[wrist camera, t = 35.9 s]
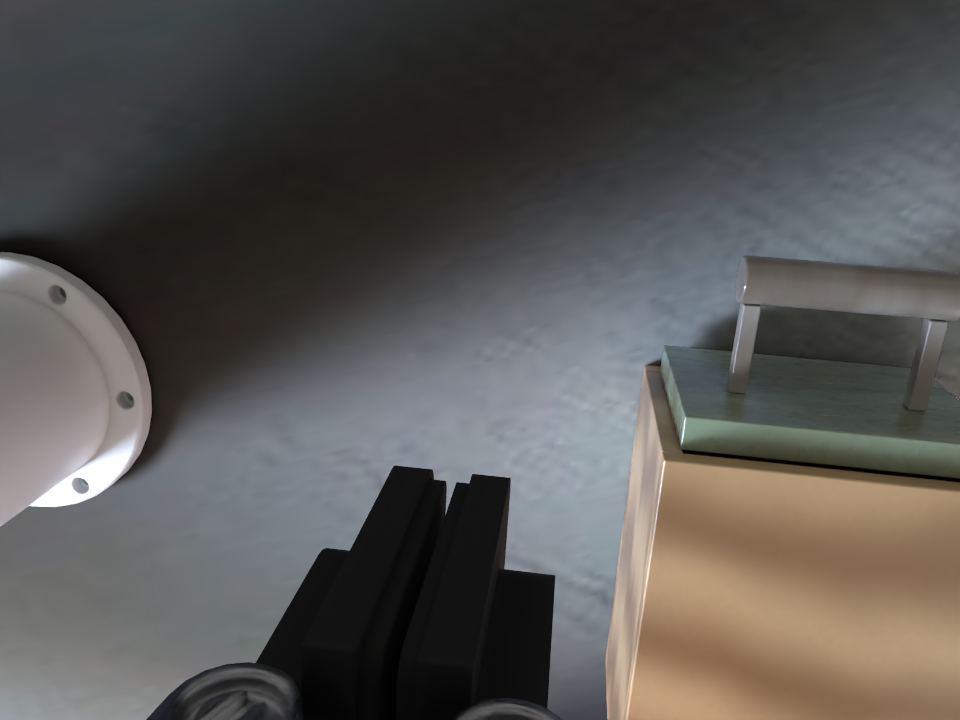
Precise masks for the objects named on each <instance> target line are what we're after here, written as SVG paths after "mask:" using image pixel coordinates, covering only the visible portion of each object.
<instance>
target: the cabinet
mask: <svg viewBox="0 0 960 720" xmlns="http://www.w3.org/2000/svg"><path fill="white" fill-rule="evenodd" d="M660 369H661V367H660V366H649V365H645V366H644V369H643V377H642V385H641V392H640V400H639V407H638V415H637V423H636V430H635V438H634V446H633V453H632V461H631V468H630V476H629V484H628V491H627V499H626V506H625V514H624V522H623V529H622V537H621V545H620V552H619V560H618V567H617V575H616V583H615V590H614V598H613V606H612V613H611V621H610V628H609V636H608V644H607V651H606V689H607V720H960V479H958V478H948V477H943V478H944V479H945V480H946V481H940V480H930V479H921V478H911V477H902V476H892V475H883V474H873V473H864V472H854V471H845V470H835V469H826V468H816V467H807V466H797V465H788V464H778V463H769V462H759V461H750V460H740V459H731V458H721V457H712V456H702V455H693V454H683V452H682V449H680V445H679V442H678V438H677V434H676V430H675V426H674V423H673V419H672V415H671V411H670V407H669V403H668V400H667V396H666V392H665V388H664V384H663V380H662V377H661V373H660Z"/></svg>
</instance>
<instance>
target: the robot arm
mask: <svg viewBox="0 0 960 720" xmlns="http://www.w3.org/2000/svg"><path fill="white" fill-rule="evenodd" d="M151 415H152V402H151V387H150V383H149V378H148V374H147V369H146V365H145V363H144V360H143V358H142V356H141V353H140V351H139V348H138V346H137V344H136V341H135V340H134V338H133V336H132V335H131V333H130V332H129V330H128V328H127V327H126V325H125V324H124V322H123V321H122V319H121V318H120V316H119V315H118V314H117V313H116V312H115V311H114V310H113V308H112V307H111V306H110V305H109V304H108V303H107V302H106V300H105V299H104V298H103V297H102V296H100V295H99V294H98V293H97V292H96V291H94V290H93V289H92V288H91V287H90V286H88V285H87V284H86V283H85V282H84V281H82V280H81V279H79V278H78V277H76V276H74V275H73V274H71V273H69V272H67V271H66V270H64V269H62V268H61V267H59V266H57V265H54V264H51V263H49V262H46V261H44V260H41V259H38V258H36V257H32V256H27V255H21V254H16V253H11V252H0V527H1V526H2V525H3V524H5V523H6V522H8V521H9V520H10V519H12V518H13V517H14V516H16V515H17V514H18V513H20V512H21V511H23V510H24V509H25V508H27V507H28V506H29V505H30V506H41V507H58V506H64V505H71V504H77V503H79V502H82V501H84V500H87V499H89V498H92V497H95V496H96V495H98V494H99V493H101V492H102V491H104V490H105V489H107V488H108V487H110V486H111V485H113V484H114V483H115V482H116V481H117V480H118V479H119V478H120V477H122V476H123V475H124V474H125V473H126V472H127V471H128V470H129V469H130V468H131V466H132V465H133V463H134V462H135V461H136V459H137V458H138V456H139V455H140V453H141V451H142V448H143V446H144V444H145V441H146V439H147V436H148V433H149V427H150V421H151ZM510 482H511V480H510V478H505V477H495V476H486V475H477V474H473V475H472V477H471V480H470V484H467V483H458V482H457V483H456V486H455V489H454V492H453V495H452V498H451V501H450V504H449V507H448V510H447V513H446V516H445V511H446V481H440V480H434V475H433V470H430V469H421V468H412V467H403V466H394V467H393V468H392V470H391V472H390V474H389V476H388V478H387V480H386V482H385V484H384V486H383V488H382V490H381V492H380V493H379V495H378V497H377V499H376V501H375V503H374V505H373V507H372V509H371V511H370V513H369V515H368V517H367V519H366V521H365V523H364V524H363V526H362V528H361V530H360V532H359V534H358V536H357V538H356V540H355V542H354V544H353V546H352V548H351V550H350V551H347V550H338V549H330V548H326V549H323V550H322V551H321V552H320V554H319V555H318V557H317V558H316V560H315V562H314V564H313V565H312V567H311V569H310V570H309V572H308V574H307V576H306V577H305V579H304V581H303V582H302V584H301V586H300V588H299V589H298V591H297V593H296V595H295V596H294V598H293V600H292V601H291V603H290V605H289V607H288V608H287V610H286V612H285V614H284V615H283V617H282V619H281V620H280V622H279V624H278V626H277V627H276V629H275V631H274V632H273V634H272V636H271V638H270V639H269V641H268V643H267V645H266V646H265V648H264V650H263V651H262V653H261V655H260V657H259V658H258V660H257V662H256V663H236V664H226V665H223V666H219V667H216V668H212V669H209V670H205V671H203V672H202V673H200V674H198V675H196V676H194V677H192V678H190V679H188V680H186V681H185V682H184V683H182V684H181V685H180V686H179V687H178V688H177V689H175V690H174V691H173V692H172V693H171V694H169V695H168V697H167V698H166V699H165V700H164V701H163V702H162V703H161V704H160V705H159V706H158V707H157V709H156V710H155V711H154V712H153V713H152V714H151V715H150V716H149V717H148V718H147V719H146V720H563V719H562V718H560V717H559V716H557V715H556V714H554V713H553V712H552V711H550V710H549V709H547V703H548V687H549V670H550V653H551V637H552V620H553V604H554V587H555V575H547V574H539V573H530V572H522V571H514V570H505V569H504V565H505V551H506V538H507V525H508V512H509V499H510Z"/></svg>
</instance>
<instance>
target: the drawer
mask: <svg viewBox="0 0 960 720" xmlns="http://www.w3.org/2000/svg"><path fill="white" fill-rule="evenodd" d="M735 296H736V300H737V302H739V303H740V309H739V315H738V321H737V327H736V333H735V339H734V345H733V351H732V352H729V351H718V350H707V349H697V348H686V347H675V346H664V347H663V354H662V361H661V369H660V373H661V377H662V380H663V384H664V388H665V392H666V396H667V400H668V403H669V407H670V411H671V415H672V419H673V423H674V426H675V430H676V434H677V438H678V442H679V445H680V449H682V452H683V454H693V455H702V456H712V457H721V458H722V454H728V455H738V456H748V457H757V458H767V459H776V460H786V461H795V462H805V463H814V464H824V465H834V466H843V467H852V468H853V469H854V471H855V472H864V473H873V474H883V475H892V476H902V477H911V478H921V479H930V480H940V481H946V480H945V479H944V478H943V477H948V478H958V479H960V400H959V399H958V398H956V397H955V396H954V395H953V394H951V393H950V392H949V391H948V390H947V389H945V388H944V387H943V386H942V385H940V384H939V383H938V382H937V381H936V380H934V377H935V373H936V370H937V366H938V362H939V358H940V354H941V350H942V347H943V343H944V339H945V335H946V331H947V327H948V322H947V321H955V320H958V319H959V318H960V272H949V271H936V270H924V269H911V268H898V267H885V266H873V265H860V264H847V263H834V262H822V261H809V260H796V259H784V258H771V257H758V256H743V257H742V258H741V260H740V262H739V265H738V269H737V274H736V281H735ZM760 305H769V306H781V307H793V308H805V309H817V310H828V311H840V312H852V313H864V314H876V315H887V316H899V317H911V318H923V323H922V327H921V331H920V335H919V339H918V343H917V347H916V351H915V355H914V360H913V364H912V368H905V367H894V366H883V365H872V364H861V363H850V362H839V361H828V360H817V359H806V358H795V357H784V356H773V355H762V354H753V352H754V346H755V341H756V335H757V329H758V324H759V318H760V313H761V306H760ZM945 320H946V321H945Z"/></svg>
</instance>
